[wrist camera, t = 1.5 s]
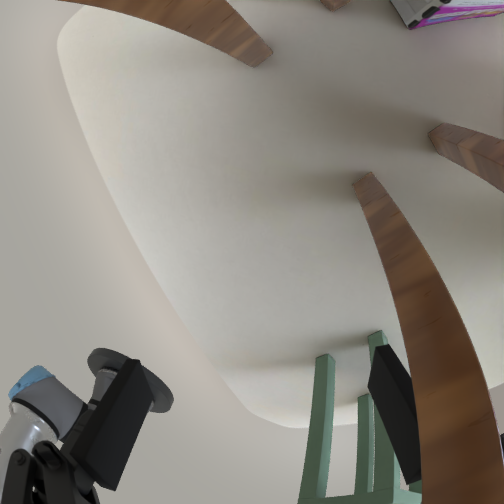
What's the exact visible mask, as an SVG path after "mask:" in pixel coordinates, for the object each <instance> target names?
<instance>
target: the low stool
mask: <svg viewBox="0 0 504 504" xmlns="http://www.w3.org/2000/svg"><path fill="white" fill-rule="evenodd" d="M368 342H369V351H370V361H371V367H372V362H373V357H374V351H375V347H376V346H381V345H387V344H388V340H387V337H386V336H385V335H384V333H383V332H382V330H381V331H379V332H376V333H374V334H372V335H370V336H368ZM334 390H335V360H334V359H333V358H332V357H331V356H330V355H329V354H326V355H323V356H321V357H318V358H316V364H315V377H314V388H313V399H312V409H311V418H310V426H309V435H308V442H307V450H306V457H305V463H304V469H303V476H302V482H301V487H300V493H299V499H298V503H297V504H421V501H422V480H419V481H417V482H414V483H411V484H409V491H406V490H402V489H400V465H399V463H398V460H397V457H396V455H395V452H394V450H393V447H392V444H391V442H390V439H389V437H388V434H387V432H386V429H385V427H384V424H383V422H382V419H381V417H380V415H379V412H378V410H377V407H376V405H375V403H374V420H373V398H372V397H371V396H370V395H369V394H367V395H364V396H361V397H358V442H357V465H356V479H355V492H354V495H347V496H337V497H327V498H325V495H326V488H327V480H328V472H329V462H330V453H331V441H332V428H333V412H334ZM374 425H375V426H374ZM374 427H375V460H374ZM373 465H374V486H373ZM372 487H373V492H372Z"/></svg>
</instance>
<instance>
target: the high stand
mask: <svg viewBox="0 0 504 504" xmlns="http://www.w3.org/2000/svg"><path fill="white" fill-rule="evenodd" d="M60 1H67V2H74V3H79V4H85V5H90V6H95V7H99V8H104V9H108V10H112V11H116V12H119V13H123V14H127V15H130V16H134V17H137V18H140V19H143V20H146V21H149V22H152V23H155V24H158V25H161V26H164V27H166V28H169V29H172V30H174V31H177V32H179V33H182V34H184V35H187V36H189V37H191V38H194V39H196V40H198V41H201V42H203V43H205V44H207V45H209V46H212V47H214V48H216V49H218V50H220V51H222V52H224V53H226V54H228V55H230V56H232V57H234V58H236V59H238V60H240V61H242V62H243V63H245V64H247V65H249V66H251V67H253V68H255V67H256V66H258V65H259V64H260V63H261V62H262V61H264V60H265V59H266V58H267V57H269V56H270V55H271V54H273V52H272V51H271V49H270V48H269V47H268V46H267V45H266V43H265V42H264V41H263V40H262V39H261V38H260V36H259V35H258V34H257V33H256V32H255V31H254V30H253V29H252V27H251V26H250V25H249V24H248V23H247V22H246V21H245V20H244V19H243V18H242V17H241V16H240V14H239V13H238V12H237V11H236V10H235V9H234V8H233V7H232V6H231V5H230V4H229V3H228V2H227V1H226V0H60ZM320 1H321V2H322V3H323V4H324V5H325V6H326V7H327V8H329V9H330V10H331V11H332V12H333V11H335V10H337V9H338V8H340V7H342V6H344V5H345V4H347V3H349V2H350V1H351V0H320ZM428 135H429V137H430V139H431V141H432V142H433V144H434V146H435V148H436V150H437V152H438V154H440V155H442V156H443V157H445V158H447V159H449V160H451V161H453V162H455V163H456V164H458V165H460V166H462V167H464V168H465V169H467V170H469V171H470V172H472V173H474V174H475V175H477V176H479V177H480V178H482V179H483V180H485V181H487V182H488V183H490V184H491V185H493V186H494V187H496V188H497V189H499V190H500V191H502V192H503V193H504V140H501V139H498V138H495V137H493V136H490V135H487V134H483V133H480V132H477V131H474V130H470V129H467V128H463V127H460V126H456V125H452V124H448V123H443V124H441V125H440V126H438V127H437V128H435V129H434V130H432V131H431V132H429V133H428ZM352 186H353V188H354V191H355V193H356V195H357V198H358V200H359V202H360V205H361V207H362V210H363V212H364V215H365V217H366V220H367V223H368V225H369V228H370V230H371V233H372V236H373V239H374V241H375V244H376V247H377V250H378V253H379V256H380V259H381V262H382V265H383V268H384V271H385V274H386V277H387V280H388V284H389V287H390V290H391V294H392V297H393V301H394V304H395V308H396V311H397V315H398V319H399V323H400V327H401V331H402V335H403V339H404V344H405V348H406V353H407V358H408V363H409V368H410V373H411V379H412V384H413V391H414V397H415V404H416V411H417V419H418V428H419V439H420V452H421V474H422V503H421V504H504V457H503V451H502V445H501V439H500V434H499V429H498V424H497V420H496V416H495V412H494V408H493V404H492V400H491V397H490V393H489V390H488V386H487V383H486V380H485V377H484V374H483V371H482V368H481V365H480V362H479V360H478V357H477V354H476V352H475V349H474V346H473V344H472V341H471V339H470V337H469V334H468V332H467V329H466V327H465V325H464V323H463V320H462V318H461V316H460V314H459V312H458V309H457V307H456V305H455V303H454V301H453V299H452V297H451V295H450V293H449V291H448V289H447V287H446V285H445V283H444V282H443V280H442V278H441V276H440V274H439V272H438V270H437V269H436V267H435V265H434V263H433V262H432V260H431V258H430V256H429V255H428V253H427V251H426V250H425V248H424V246H423V245H422V243H421V241H420V240H419V238H418V237H417V235H416V234H415V232H414V230H413V229H412V227H411V226H410V224H409V223H408V221H407V220H406V218H405V217H404V215H403V214H402V212H401V211H400V209H399V208H398V207H397V205H396V204H395V202H394V201H393V200H392V198H391V197H390V195H389V194H388V193H387V191H386V190H385V189H384V187H383V186H382V185H381V183H380V182H379V181H378V179H377V178H376V177H375V175H374V174H373V173H372V172H370V173H369V174H367V175H366V176H364V177H363V178H361V179H360V180H358V181H357V182H355V183H354V184H353V185H352Z"/></svg>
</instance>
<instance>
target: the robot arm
mask: <svg viewBox="0 0 504 504" xmlns="http://www.w3.org/2000/svg"><path fill="white" fill-rule="evenodd" d="M368 389H369V391H370V393H371V396H372V398H373V400H374V403H375V405H376V407H377V410H378V412H379V415H380V417H381V419H382V422H383V424H384V427H385V429H386V432H387V434H388V437H389V439H390V442H391V444H392V447H393V450H394V452H395V455H396V457H397V460H398V463H399V465H400V468H401V471H402V473H403V476H404V479H405V481H406V485H409V484H411V483H414V482H417V481H419V480H422V474H421V452H420V439H419V428H418V419H417V411H416V404H415V397H414V391H413V384H412V379H411V377H410V376H409V374H408V373H407V371H406V369H405V368H404V366H403V365H402V363H401V362H400V360H399V358H398V357H397V355H396V354H395V352H394V351H393V349H392V348H391V346H390V345H389V344H387V345H381V346H376V347H375V351H374V357H373V362H372V367H371V373H370V377H369V382H368ZM8 396H9V398H10V400H11V401H12V402H11V403H10V405H9V410H10V414H11V418H10V419H9V421H8V422H7V424H6V426H5V427H4V429H3V431H2V432H1V434H0V504H100V502H99V499H98V495H97V492H96V489H95V487H94V486H93V484H94V482H95V481H96V482H97V483H98V484H99V485H100V486H101V487H103V488H106V489H109V490H113V491H116V488H117V486H118V483H119V481H120V478H121V475H122V473H123V471H124V468H125V465H126V463H127V461H128V458H129V456H130V453H131V451H132V448H133V446H134V443H135V441H136V438H137V436H138V433H139V431H140V429H141V426H142V424H143V421H144V419H145V417H146V415H147V413H148V412H149V411H150V410H151V409H152V408H153V405H154V403H155V398H154V396H153V393H152V391H151V388H150V386H149V384H148V381H147V378H146V376H145V373H144V371H143V368H142V365H141V363H140V360H137V359H126V361H125V362H124V364H123V365H122V367H121V368H120V370H117V369H115V368H111V367H106V366H105V367H101V368H100V370H99V372H98V373H97V376H96V380H95V385H94V390H93V394H92V397H91V399H90V401H89V402H88V404H86V403H85V402H83V401H82V400H81V399H80V398H78V397H77V396H76V395H75V394H73V393H72V392H71V391H70V390H69V389H68V388H66V387H65V386H64V385H63V384H62V383H61V382H60V381H58V380H57V379H56V377H55V376H54V375H52V374H51V373H50V372H48V371H47V370H46V369H45V368H44V367H42V366H39V365H38V366H34V367H33V368H31V369H30V370H29V371H28V372H27V373H26V374H25V375H24V376H22V377H21V379H20V380H19V381H18V382H17V383H16V384H15V385H14V386H13V388H12V389H11V390H10V392H9V394H8ZM500 439H501V445H502V451H503V457H504V433H503V434H501V435H500ZM58 440H60V441H61V442H63V443H64V444H63V445H62V447H61V449H60V450H59V449H58V448H57V447H56V446H55V445H54V444H55V443H56V442H57V441H58ZM33 486H34V487H35V490H34V492H33ZM421 503H422V501H421Z"/></svg>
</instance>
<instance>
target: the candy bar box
mask: <svg viewBox="0 0 504 504" xmlns="http://www.w3.org/2000/svg"><path fill="white" fill-rule="evenodd" d="M390 1H391V2H392V4H393V5H394V7H395V8H396V10H397V11H398V13H399V15H400V16H401V18H402V19H403V21H404V22H405V24H406V26H407V27H408V29H414V28H418V27H423V26H427V25H432V24H437V23H442V22H447V21H453V20H460V19H468V18H477V17H489V16H495V15H497V14H500V13H504V0H390Z"/></svg>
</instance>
